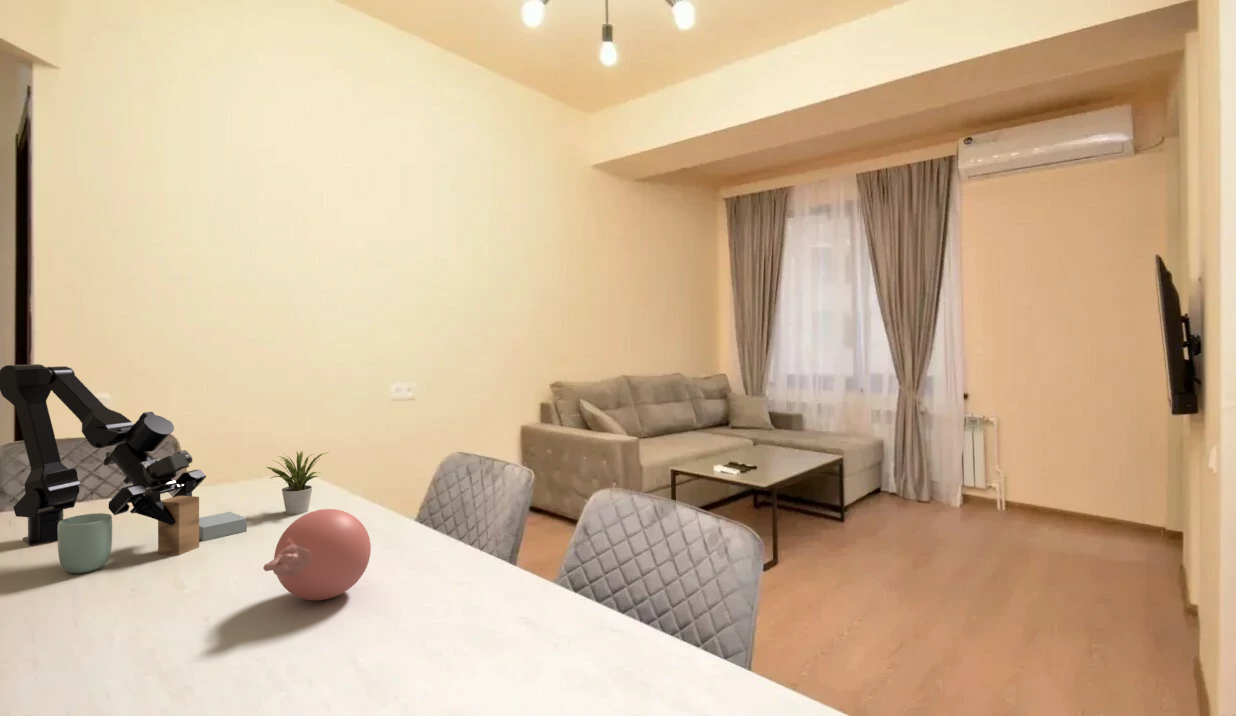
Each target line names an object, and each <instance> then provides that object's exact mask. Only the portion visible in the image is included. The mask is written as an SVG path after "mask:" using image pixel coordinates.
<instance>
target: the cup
mask: <svg viewBox="0 0 1236 716" xmlns="http://www.w3.org/2000/svg"><path fill="white" fill-rule="evenodd" d="M112 546H113V515H111V514H110V513H103V512H101V513H99V512H97V513H85V514H79V515H75V516H70V517H67V518H63V520H61V521H59V522H58V540H57V552H58V553H57V554H58V559H59V560H58V561H59V564H60V566H61V568H62V569H63V570H64V571H66V572H68V573H71V574H85V573H90V572H93V571H96V570H99V569H100V568H102V567H104V566H105V565H106V564H107V563H108V561H109V559H110V557H111V553H112Z"/></svg>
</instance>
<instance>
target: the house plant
mask: <svg viewBox="0 0 1236 716" xmlns="http://www.w3.org/2000/svg"><path fill="white" fill-rule="evenodd" d="M329 453H330V452H323V453H320V454H319V455H316V457H314V458H313V460H312V461H310V463H309V465H308V461H309V458H310V457H311V456H312V455H314V453H312V454H310V455H308V456H307V457H306V458H305V460H304V462H303V464H302V461H303V456H304V451H303V450H302V451H300V452H298V451H296V465H295V463H294V461H293V460H292V458H290V457H289V456H288V455H287V454H286V453H284V452H283V455H285V456H286V457H287V458H286V457H283V456H280V455H277V457H278V458H280V459H279V460H281V461H282V460H283V462H284V464H285V466H284V465H282V464H281V463H280V462H279V461H277V460H274V459H272V461H273V462H275V463H277V464H279V465H280V466H282V468H284V469H285V471H286V472H287V473H288V474H289V475H288V474H287V473H286V472H284V471H282V470H280V469H278V468H275V467H272V466H266V468H267V469H268V470H271V471H272V472H273V473H274V474H276V475H274V476H272V477H270V479H269V480H271V479H272V478H273V479H274V478H278V477H279V478H281V479H282V480H284V481H285V484H287V485H288V486H286V487H283V488H282V489H281V492H282V497H283V504H284V509H285V510H284V511H285V514H287V515H300V513H302V514H305V513H307V512H309V507H310V502H311V496H312V492H313V491H312V490H313V486H312V485H308V484H307V483H308V482H309V481H310V480H312V479H314V478H317V477H318V478H320V476H318V475H315V474H318V473H319V474H321V472H319V471H312V472H310V470H311V469H312V468H313V467H314V466H315V464H316V463H317V462H318V461H320V459H321V458H320V457H321V456H323V455H325V454H329ZM307 465H308V466H307ZM309 472H310V473H309ZM304 512H305V513H304Z"/></svg>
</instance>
